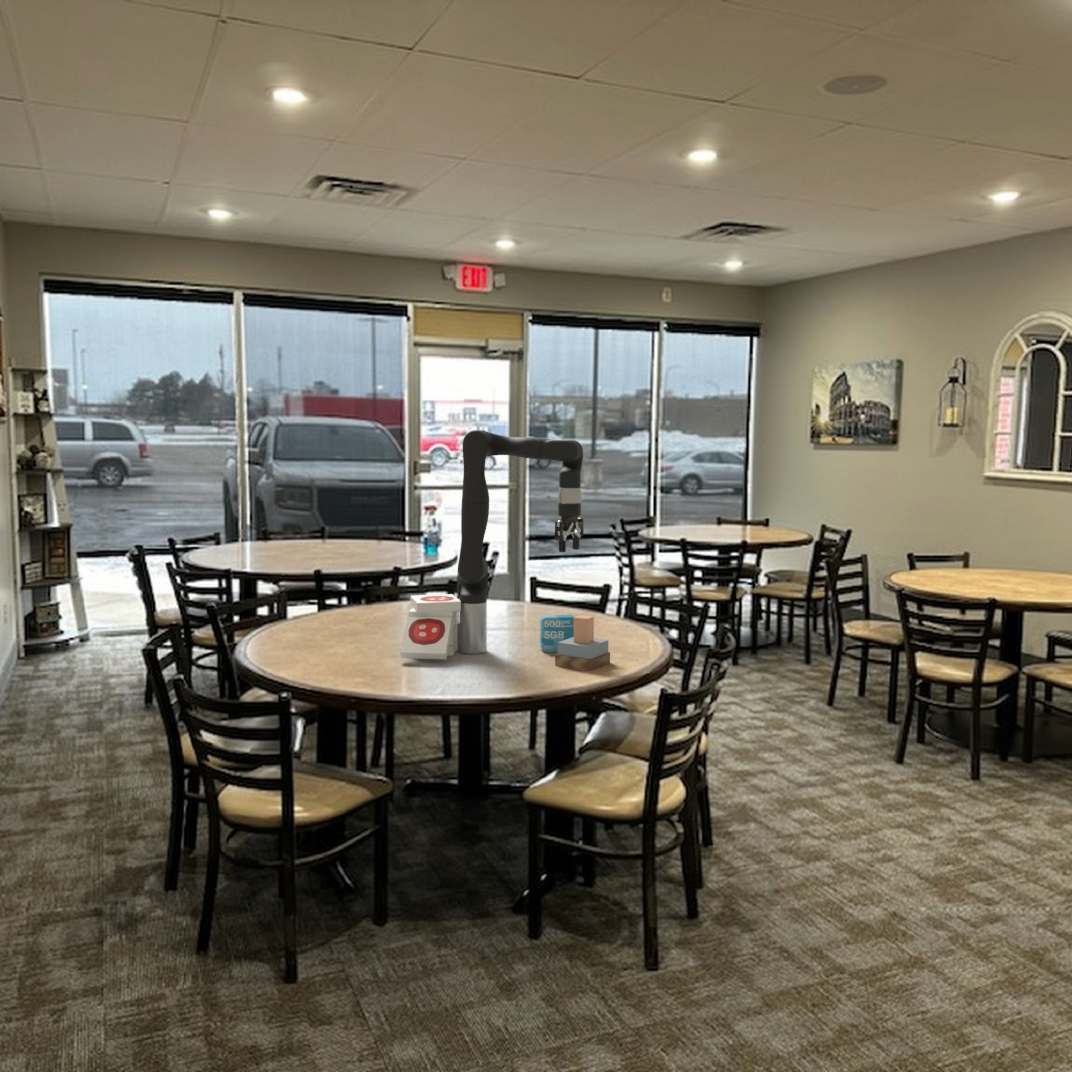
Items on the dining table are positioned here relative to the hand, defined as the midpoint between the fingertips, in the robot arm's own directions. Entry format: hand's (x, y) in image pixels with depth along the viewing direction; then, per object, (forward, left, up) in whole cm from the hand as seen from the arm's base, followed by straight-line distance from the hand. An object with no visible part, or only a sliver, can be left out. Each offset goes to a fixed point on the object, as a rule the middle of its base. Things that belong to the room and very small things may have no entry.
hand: (569, 550), depth 313 cm
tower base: (+8, -4, -37) cm, 38 cm away
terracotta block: (+8, -4, -29) cm, 30 cm away
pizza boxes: (-41, -21, -36) cm, 59 cm away
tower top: (+8, -4, -33) cm, 34 cm away
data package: (-9, +8, -36) cm, 38 cm away
